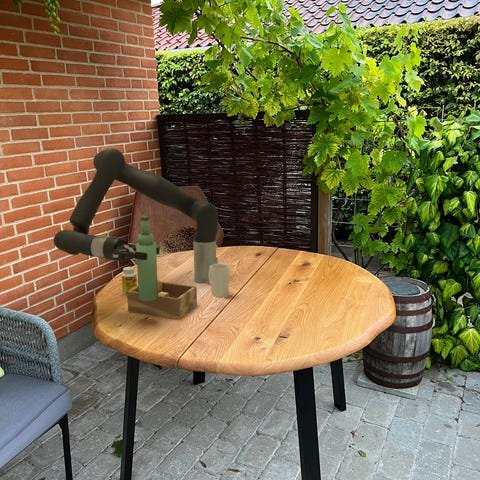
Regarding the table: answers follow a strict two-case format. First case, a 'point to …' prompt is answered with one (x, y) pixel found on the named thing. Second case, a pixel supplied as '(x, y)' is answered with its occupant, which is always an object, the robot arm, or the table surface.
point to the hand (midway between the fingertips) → (152, 253)
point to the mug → (219, 279)
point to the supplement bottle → (128, 279)
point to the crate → (165, 300)
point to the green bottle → (147, 263)
